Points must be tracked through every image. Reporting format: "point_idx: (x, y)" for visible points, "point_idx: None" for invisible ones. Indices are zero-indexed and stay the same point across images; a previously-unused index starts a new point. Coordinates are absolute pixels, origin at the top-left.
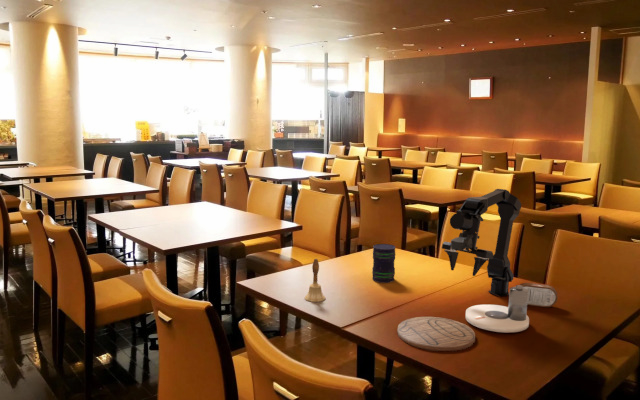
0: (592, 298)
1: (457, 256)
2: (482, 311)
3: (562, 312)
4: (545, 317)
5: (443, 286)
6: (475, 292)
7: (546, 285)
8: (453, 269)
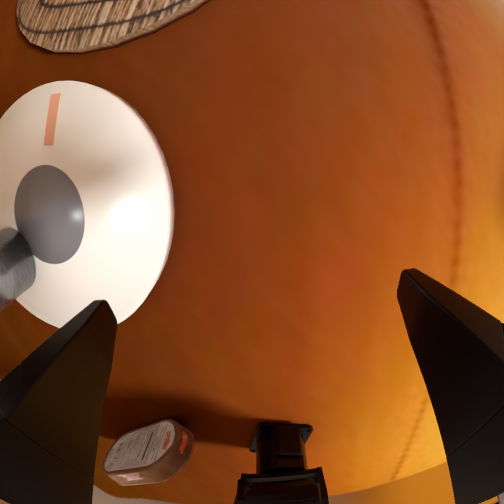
0: (145, 493)
1: (450, 466)
2: (93, 192)
3: None
4: None
5: None
6: (342, 398)
7: (122, 483)
8: (400, 299)
